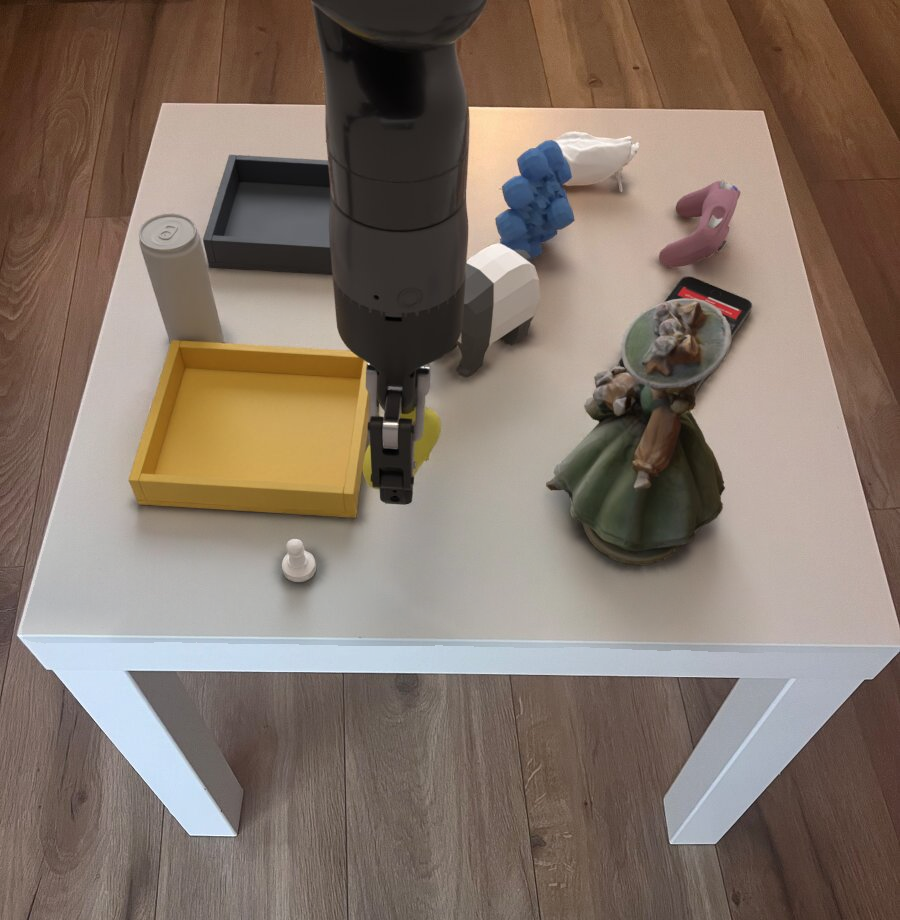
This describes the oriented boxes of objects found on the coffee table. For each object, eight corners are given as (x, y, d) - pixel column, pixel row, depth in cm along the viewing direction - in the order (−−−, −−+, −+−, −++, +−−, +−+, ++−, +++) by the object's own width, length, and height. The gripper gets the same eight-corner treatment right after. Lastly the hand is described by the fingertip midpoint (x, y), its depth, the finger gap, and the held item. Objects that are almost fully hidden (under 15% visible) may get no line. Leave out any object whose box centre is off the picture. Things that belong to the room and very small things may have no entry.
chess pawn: (317, 555, 71) (312, 528, 68) (315, 582, 70) (310, 557, 67) (283, 555, 71) (277, 529, 68) (281, 583, 70) (275, 557, 67)
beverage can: (162, 357, 82) (125, 243, 72) (186, 322, 85) (153, 207, 74) (211, 369, 82) (181, 256, 71) (234, 333, 84) (207, 219, 74)
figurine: (549, 423, 79) (583, 222, 62) (711, 439, 79) (791, 241, 62) (539, 561, 72) (574, 375, 55) (719, 580, 71) (812, 398, 54)
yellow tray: (138, 504, 74) (127, 480, 71) (179, 366, 82) (171, 339, 79) (355, 518, 73) (353, 494, 71) (375, 377, 82) (373, 351, 79)
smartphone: (755, 302, 87) (689, 399, 80) (752, 308, 87) (687, 404, 81) (685, 273, 89) (615, 365, 82) (683, 279, 89) (613, 371, 82)
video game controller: (688, 289, 91) (738, 242, 85) (652, 262, 90) (700, 213, 84) (706, 229, 96) (754, 182, 90) (672, 203, 95) (719, 154, 89)
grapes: (536, 307, 87) (551, 194, 77) (476, 280, 89) (483, 166, 78) (593, 242, 92) (614, 127, 82) (535, 218, 94) (549, 103, 84)
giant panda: (499, 301, 87) (507, 213, 79) (541, 332, 85) (553, 244, 77) (383, 375, 82) (379, 288, 74) (425, 409, 80) (425, 324, 71)
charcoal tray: (209, 267, 89) (202, 240, 86) (234, 181, 96) (229, 154, 93) (368, 276, 89) (367, 249, 86) (382, 190, 96) (381, 163, 93)
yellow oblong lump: (456, 443, 67) (458, 406, 64) (391, 514, 63) (390, 478, 60) (409, 418, 68) (409, 380, 65) (343, 486, 64) (340, 449, 61)
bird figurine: (608, 173, 100) (523, 156, 97) (636, 122, 94) (547, 102, 91) (613, 208, 99) (526, 192, 96) (643, 159, 92) (551, 140, 90)
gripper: (346, 179, 54) (359, 379, 69) (314, 348, 47) (336, 534, 61) (472, 188, 55) (459, 386, 69) (459, 358, 47) (448, 541, 61)
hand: (401, 455), depth 65 cm, fingers closed on yellow oblong lump, 7 cm apart
